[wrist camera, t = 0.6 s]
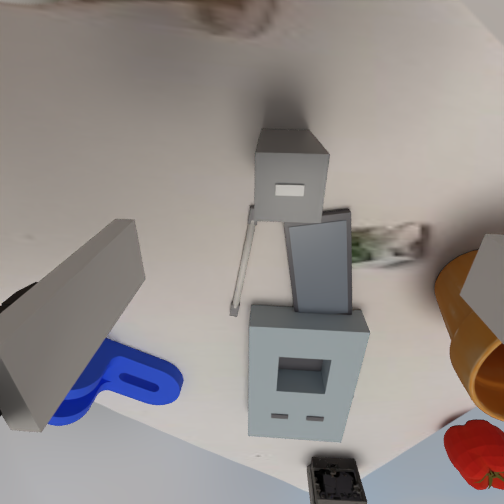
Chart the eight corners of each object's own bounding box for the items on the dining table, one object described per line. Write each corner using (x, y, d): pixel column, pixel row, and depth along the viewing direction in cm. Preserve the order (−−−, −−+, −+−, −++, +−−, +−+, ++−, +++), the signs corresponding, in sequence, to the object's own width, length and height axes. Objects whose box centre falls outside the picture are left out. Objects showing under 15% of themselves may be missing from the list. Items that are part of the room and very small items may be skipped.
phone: (295, 316, 40) (295, 321, 39) (283, 217, 33) (283, 221, 32) (350, 311, 39) (352, 317, 38) (348, 208, 32) (351, 212, 31)
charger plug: (260, 175, 31) (253, 222, 20) (261, 128, 29) (254, 153, 18) (304, 176, 31) (321, 224, 20) (309, 129, 29) (330, 154, 18)
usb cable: (237, 313, 40) (236, 317, 39) (230, 311, 40) (229, 315, 39) (260, 207, 33) (259, 210, 32) (251, 205, 33) (250, 208, 32)
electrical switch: (305, 467, 57) (311, 528, 48) (306, 449, 55) (313, 509, 46) (356, 470, 56) (371, 532, 48) (359, 451, 54) (376, 512, 46)
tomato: (428, 422, 48) (453, 475, 42) (487, 404, 45) (523, 457, 39) (450, 451, 52) (476, 504, 45) (506, 435, 49) (543, 490, 42)
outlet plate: (249, 411, 50) (248, 437, 46) (251, 304, 39) (249, 327, 35) (336, 417, 49) (341, 443, 45) (361, 310, 38) (370, 333, 35)
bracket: (64, 360, 47) (22, 415, 39) (74, 324, 43) (29, 377, 35) (173, 399, 50) (154, 458, 42) (191, 369, 46) (174, 427, 38)
